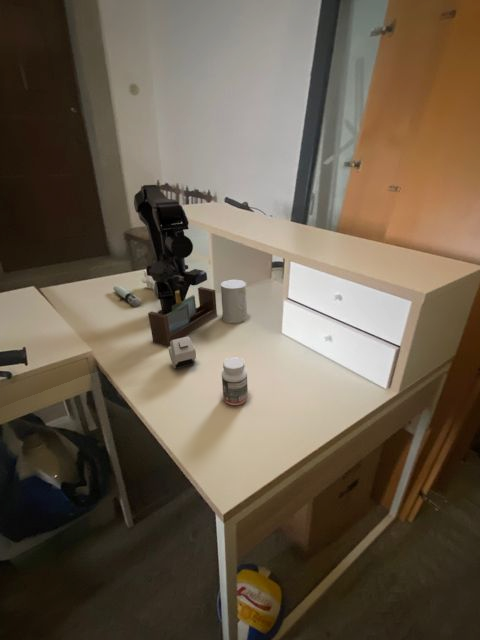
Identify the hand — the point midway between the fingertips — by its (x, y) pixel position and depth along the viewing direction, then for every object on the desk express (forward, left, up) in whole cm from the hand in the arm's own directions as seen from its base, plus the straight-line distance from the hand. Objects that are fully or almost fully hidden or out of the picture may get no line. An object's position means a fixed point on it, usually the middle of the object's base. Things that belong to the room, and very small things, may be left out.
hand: (179, 300), depth 108 cm
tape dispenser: (+14, -17, -10) cm, 24 cm away
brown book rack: (+1, 0, -10) cm, 10 cm away
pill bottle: (+34, -22, -10) cm, 42 cm away
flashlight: (-35, +7, -10) cm, 37 cm away
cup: (+10, +14, -10) cm, 20 cm away
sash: (0, +2, -8) cm, 8 cm away
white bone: (-29, +19, -10) cm, 36 cm away
